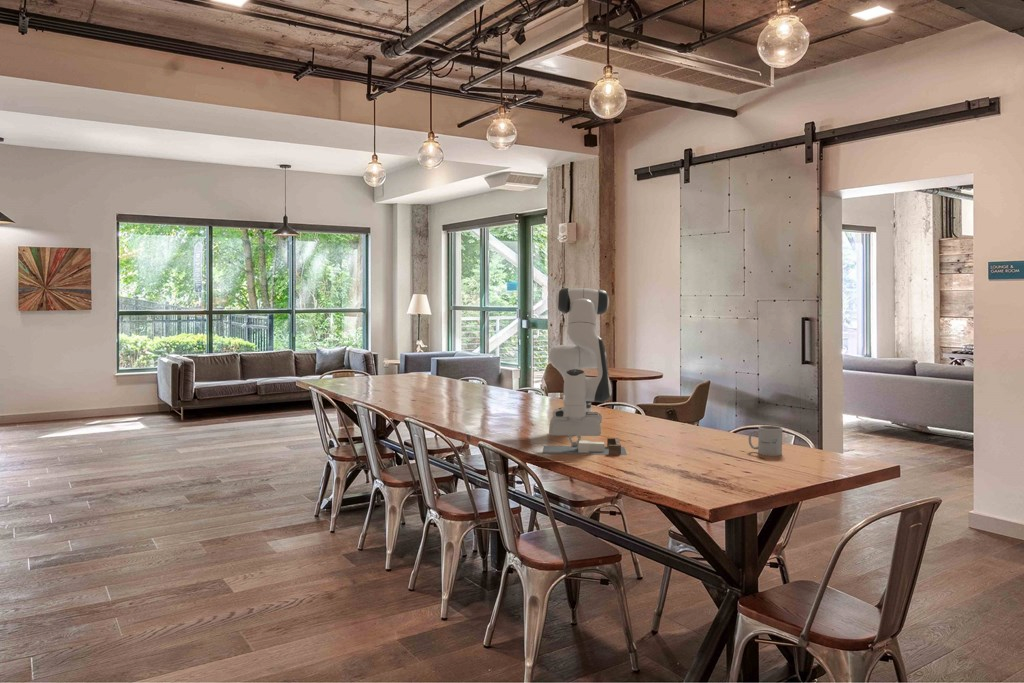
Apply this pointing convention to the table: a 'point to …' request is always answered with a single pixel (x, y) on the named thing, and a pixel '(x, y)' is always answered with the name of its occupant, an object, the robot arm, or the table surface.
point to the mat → (575, 450)
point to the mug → (768, 440)
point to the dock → (614, 446)
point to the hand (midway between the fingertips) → (574, 447)
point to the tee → (590, 446)
